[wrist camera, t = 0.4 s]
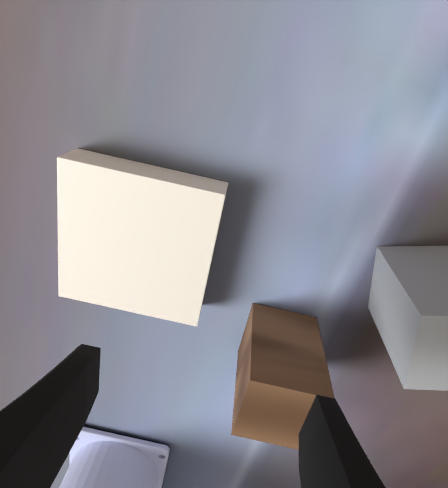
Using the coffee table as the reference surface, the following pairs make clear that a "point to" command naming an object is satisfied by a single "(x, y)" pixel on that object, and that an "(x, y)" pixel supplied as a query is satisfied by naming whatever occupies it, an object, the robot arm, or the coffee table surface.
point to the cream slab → (135, 235)
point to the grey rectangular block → (413, 312)
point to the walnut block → (278, 375)
